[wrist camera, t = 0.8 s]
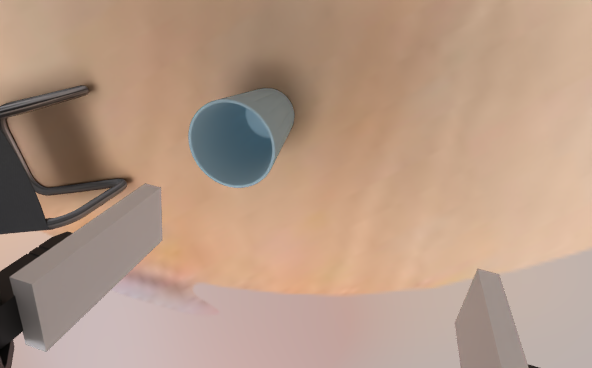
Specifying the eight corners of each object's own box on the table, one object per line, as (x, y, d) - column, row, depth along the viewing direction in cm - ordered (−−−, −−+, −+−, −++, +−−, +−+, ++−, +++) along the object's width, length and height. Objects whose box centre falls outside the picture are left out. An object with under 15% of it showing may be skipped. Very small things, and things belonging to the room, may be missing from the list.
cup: (265, 59, 40) (222, 78, 31) (320, 114, 41) (293, 148, 32) (222, 111, 43) (172, 143, 34) (273, 161, 44) (238, 203, 35)
